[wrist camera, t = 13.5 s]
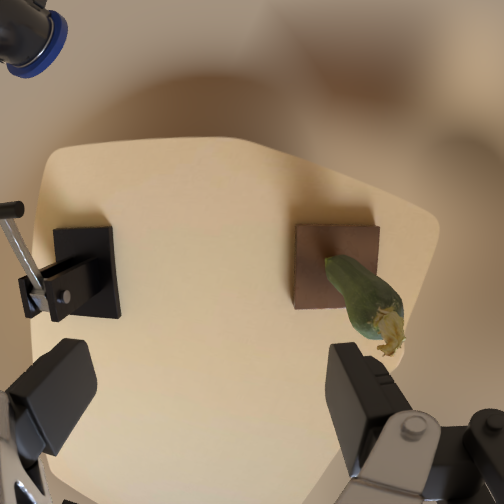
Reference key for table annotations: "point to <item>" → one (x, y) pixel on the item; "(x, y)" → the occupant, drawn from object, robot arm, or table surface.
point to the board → (324, 246)
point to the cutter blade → (23, 251)
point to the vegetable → (368, 302)
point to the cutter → (78, 276)
